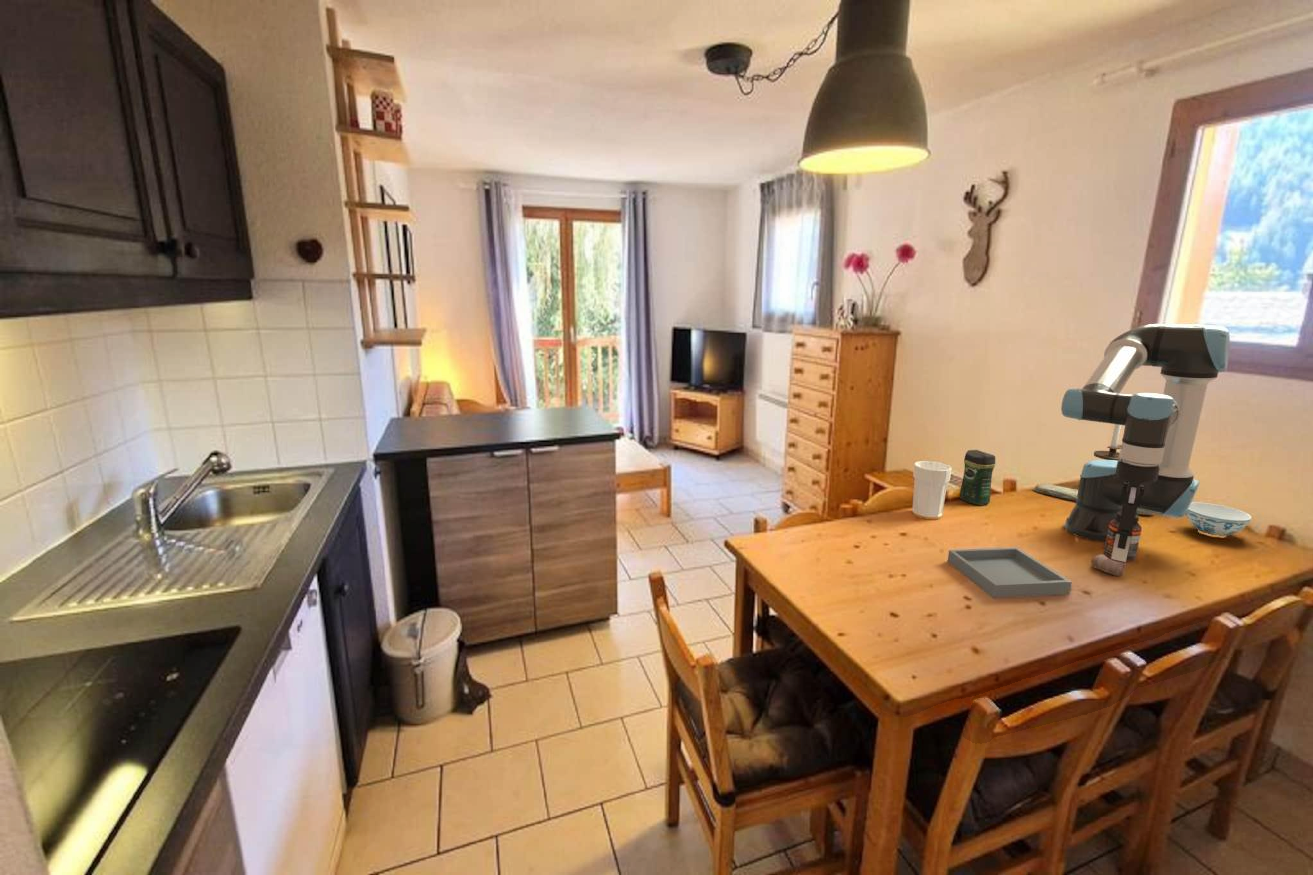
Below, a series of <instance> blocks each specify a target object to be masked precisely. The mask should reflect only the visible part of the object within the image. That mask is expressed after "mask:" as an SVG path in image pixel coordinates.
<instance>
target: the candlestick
mask: <svg viewBox="0 0 1313 875" xmlns="http://www.w3.org/2000/svg"><path fill="white" fill-rule="evenodd" d="M1121 428H1122V425H1117V424H1114V428H1113V432H1112V437H1111V441H1110V442H1111V443H1110V446H1108V445H1107V446H1106V448H1108V449H1109V450H1094V452H1093V456H1094V457H1096V458H1099V459H1100V460H1117V461H1118V460H1120V459H1121V458H1120V457H1119V454H1120V451H1119V452H1118V451H1117V450H1119V449H1118V448H1117V446H1118V445H1119V444H1118V443H1119V438H1120V432H1121Z"/></svg>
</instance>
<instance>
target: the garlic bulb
mask: <svg viewBox="0 0 1313 875" xmlns="http://www.w3.org/2000/svg"><path fill="white" fill-rule="evenodd" d="M1090 563H1091V565H1092V566H1093V568H1095V569H1097V570H1098V571H1102V572H1104V573H1106V574H1110V575H1112V576H1115V577H1120V576H1121V575H1123V574H1124V570H1125V568H1126V567H1127V566H1126V564H1127V563H1122V562H1117V561H1113V560H1111V559H1109V558H1107V557H1106V556H1105V555H1104V553H1103V554H1097V555H1096V556H1094V557H1093V558H1092V559H1091V561H1090Z"/></svg>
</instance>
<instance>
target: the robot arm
mask: <svg viewBox="0 0 1313 875" xmlns="http://www.w3.org/2000/svg"><path fill="white" fill-rule="evenodd" d="M1230 342H1231V340H1230V332H1229V330H1228V329H1227V328H1226V327H1224V326H1216V325H1207V324H1204V325H1203V324H1162V323H1153V324H1152V323H1151V324H1147V325H1146V324H1145V325H1142V326H1138V327H1136V328H1135V327H1134V328H1132V329H1130V330H1128V331H1125V332H1124V333H1122V334H1120V335H1118V336H1116V337H1115V338H1114V339H1113V340H1112V341H1110V342H1109V344H1108V345H1107V346H1106V348H1105V350H1104V354H1103V356H1104V357H1103V359H1102V360H1101V362H1100V363H1099V365H1098V366H1097V367H1096V368H1095V370H1094V372H1093V373H1092V374H1091V376H1090V377H1089V378H1088V380H1087V381H1086V382H1085V384H1084V385H1083V387H1082V389H1081V388H1079V387H1078V388H1069V389H1067V390H1066V391H1065V393H1064V394H1063V398H1062V402H1061V408H1060V410H1061V414H1062V416H1063V417H1065V418H1069V419H1075V420H1078V421H1089V422H1095V423H1103V424H1104V423H1105V424H1113V425H1115V424H1117V425H1121V426H1124V429H1123V435H1122V439H1121V444H1117V448H1118V449H1117V450H1119V453H1120V454H1119V457H1120V458H1121V459H1120V460H1118V461H1117V460H1106V459H1097V460H1096V459H1095V460H1090V461H1087V462H1086V463H1084V464H1083V466H1082V470H1081V473H1080V475H1079V477H1080V478H1079V479H1080V480H1079V484H1078V489H1077V490H1078V494H1077V500H1076V502H1075V505H1074V507H1073V508H1072V510H1071V512H1070V514H1069V516H1068V517H1066V519H1065V520H1064V521H1065V522H1064V530H1066V531H1067V532H1069V533H1070V534H1072V535H1074V536H1077V537H1079V538H1082V539H1087V540H1091V541H1095V542H1100V543H1101V542H1102V543H1106V539H1107V534H1108V529H1109V524H1110V522H1111V521H1112V520H1113V519H1116V518H1117V517H1116V516H1117V512H1119V511H1122V513H1121V518H1120V523H1119V528H1118V530H1117V531H1113V533H1115V534H1116V538H1115V542H1114V547H1113V552H1112V557H1111V559H1114V560H1119V561H1123V562H1126V559H1127V554H1128V550H1129V545H1130V540H1131V536H1132V529H1133V525H1134V520H1135V515H1136V511H1137V510H1140V511H1145V512H1149V513H1153V514H1155V515H1158V516H1162V517H1169V518H1174V519H1179V518H1182V517H1184V516H1186V512H1187V510H1188V508H1189V506H1190V504H1191V503H1193V502H1192V501H1193V499H1194V498H1195V495H1196V493H1197V490H1198V487H1199V485H1200V480H1197V479H1194V478H1195V471H1193V470H1192V469H1191V468H1190V463H1191V457H1192V454H1193V448H1194V444H1195V442H1196V436H1197V431H1198V428H1199V423H1200V418H1201V414H1202V410H1203V405H1204V401H1205V397H1206V393H1207V388H1208V385H1209V383H1210V382H1213V381H1214V380H1216V379H1217V378H1218V376H1219V373H1223V372H1226V371H1227V370H1228V364H1229V358H1230V346H1231V344H1230ZM1142 366H1144V367H1145V366H1146V367H1154V368H1155V367H1157V368H1161V370H1160V375H1161V377H1162V378H1163V379H1165V383H1164V388H1163V392H1162V393H1154V392H1139V393H1134V394H1127V393H1121V392H1122V390H1123V388H1125V386H1126V384H1127V382H1128V381H1129V379H1130V378H1131V376H1132V375H1133V373H1134V372H1135V370H1137V369H1139V368H1141V367H1142Z"/></svg>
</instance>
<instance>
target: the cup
mask: <svg viewBox="0 0 1313 875" xmlns="http://www.w3.org/2000/svg"><path fill="white" fill-rule="evenodd" d="M951 474H952V467H951V465H949V464H946V463H943V462H940V461H931V460H922V461H921V460H920V461H916V462H915V463H914V464H913V475H912V476H913V478H914V482H913V483H914V484H913V485H914V486H913V498H912V511H911V513H912V514H913V516H915V517H917V518H920V519H923V520H933V521H934V520H940V519H941V518H942V516H943V512H944V505H945V501H946V500H945V499H946V492H947V488H948V487H947V486H948V483H949V482H950V480H951Z"/></svg>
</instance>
